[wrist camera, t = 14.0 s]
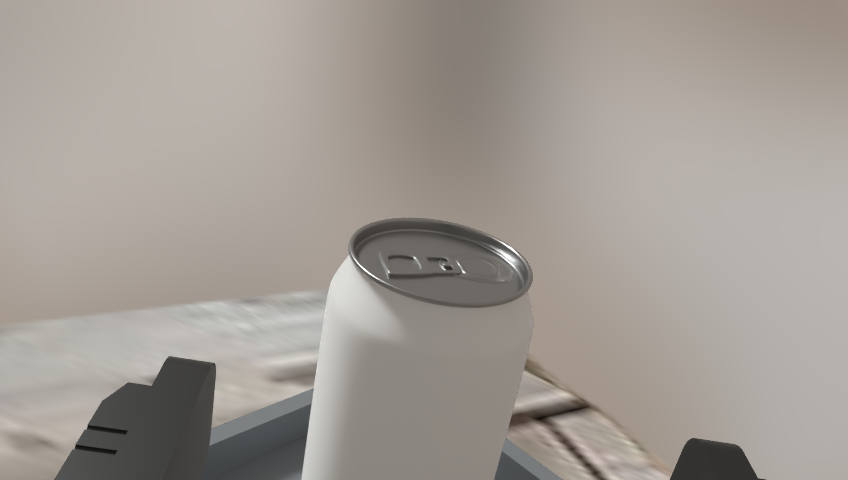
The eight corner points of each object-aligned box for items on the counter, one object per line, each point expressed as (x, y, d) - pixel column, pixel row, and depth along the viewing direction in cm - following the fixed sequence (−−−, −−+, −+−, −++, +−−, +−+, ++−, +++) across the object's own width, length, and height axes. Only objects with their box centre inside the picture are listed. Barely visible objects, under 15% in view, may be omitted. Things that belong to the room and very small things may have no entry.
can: (495, 613, 26) (585, 312, 21) (306, 639, 24) (358, 311, 19) (439, 479, 32) (500, 216, 27) (282, 491, 29) (317, 207, 25)
